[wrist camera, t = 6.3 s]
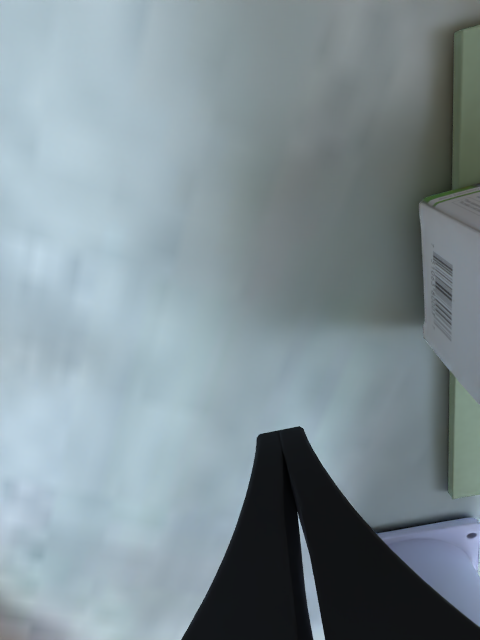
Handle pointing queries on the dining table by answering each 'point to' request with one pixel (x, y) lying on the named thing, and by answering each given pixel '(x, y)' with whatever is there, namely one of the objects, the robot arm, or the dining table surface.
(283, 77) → the dining table surface
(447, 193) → the syrup box
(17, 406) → the dining table surface
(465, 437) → the mat
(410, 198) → the dining table surface
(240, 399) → the dining table surface
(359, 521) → the robot arm
